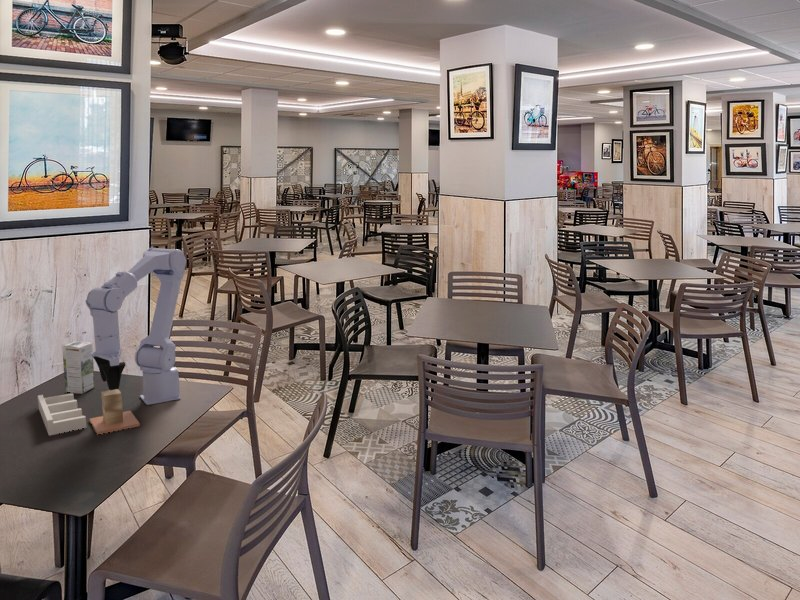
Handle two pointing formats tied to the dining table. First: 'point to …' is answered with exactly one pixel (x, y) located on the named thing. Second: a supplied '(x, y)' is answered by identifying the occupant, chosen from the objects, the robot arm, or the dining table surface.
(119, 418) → the block
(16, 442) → the dining table surface
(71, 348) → the white carton
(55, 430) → the slot rack
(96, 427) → the terracotta tile
